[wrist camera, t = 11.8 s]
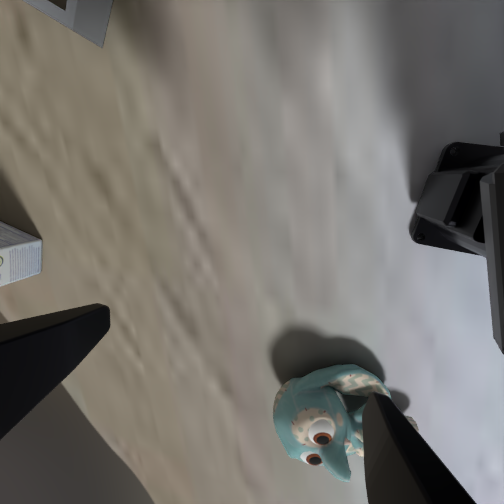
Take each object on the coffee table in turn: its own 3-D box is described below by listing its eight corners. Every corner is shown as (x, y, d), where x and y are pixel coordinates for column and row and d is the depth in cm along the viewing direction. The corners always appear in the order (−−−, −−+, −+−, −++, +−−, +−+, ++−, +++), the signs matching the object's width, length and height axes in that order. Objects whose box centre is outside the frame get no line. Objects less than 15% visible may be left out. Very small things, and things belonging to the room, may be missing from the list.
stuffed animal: (417, 540, 18) (261, 512, 18) (377, 440, 25) (263, 420, 25) (483, 445, 15) (290, 412, 15) (415, 358, 22) (283, 336, 22)
